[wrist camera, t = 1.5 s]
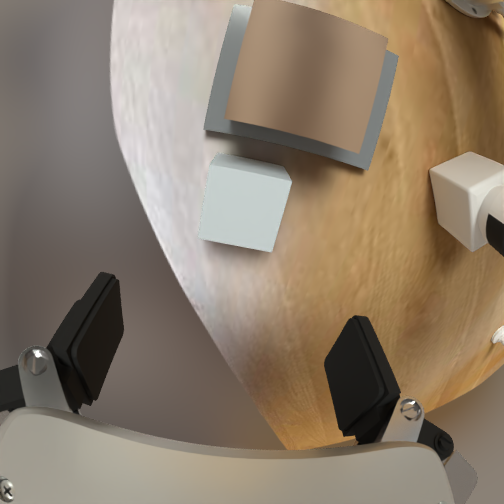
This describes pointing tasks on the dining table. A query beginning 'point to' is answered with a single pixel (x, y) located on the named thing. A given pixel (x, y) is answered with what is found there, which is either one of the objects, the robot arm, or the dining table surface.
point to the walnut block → (306, 74)
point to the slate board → (220, 124)
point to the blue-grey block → (243, 202)
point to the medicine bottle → (471, 200)
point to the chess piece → (498, 335)
